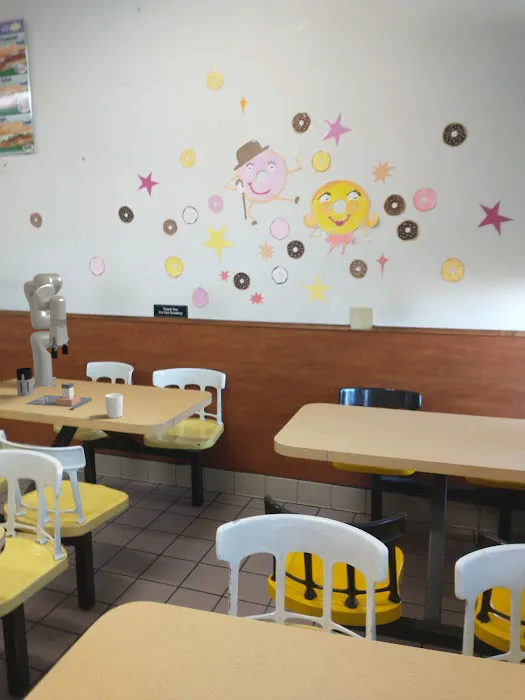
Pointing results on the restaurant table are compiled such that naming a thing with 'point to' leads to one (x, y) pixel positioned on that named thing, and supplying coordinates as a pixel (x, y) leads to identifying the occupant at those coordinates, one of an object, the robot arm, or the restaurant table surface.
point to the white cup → (114, 405)
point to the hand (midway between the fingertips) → (60, 356)
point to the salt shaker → (67, 390)
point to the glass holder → (24, 382)
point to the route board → (60, 401)
